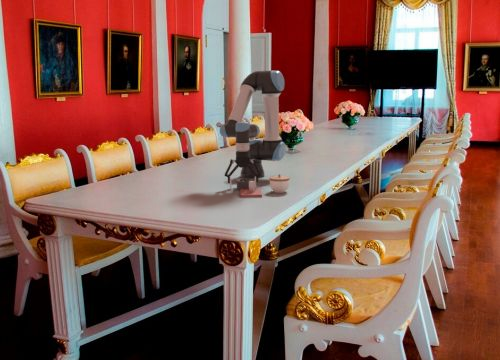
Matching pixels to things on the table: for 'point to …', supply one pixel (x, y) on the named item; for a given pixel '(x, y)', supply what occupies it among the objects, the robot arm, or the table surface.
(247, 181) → the hollow frame block
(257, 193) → the plate
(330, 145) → the table surface
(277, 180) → the lidded jar
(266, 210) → the table surface
